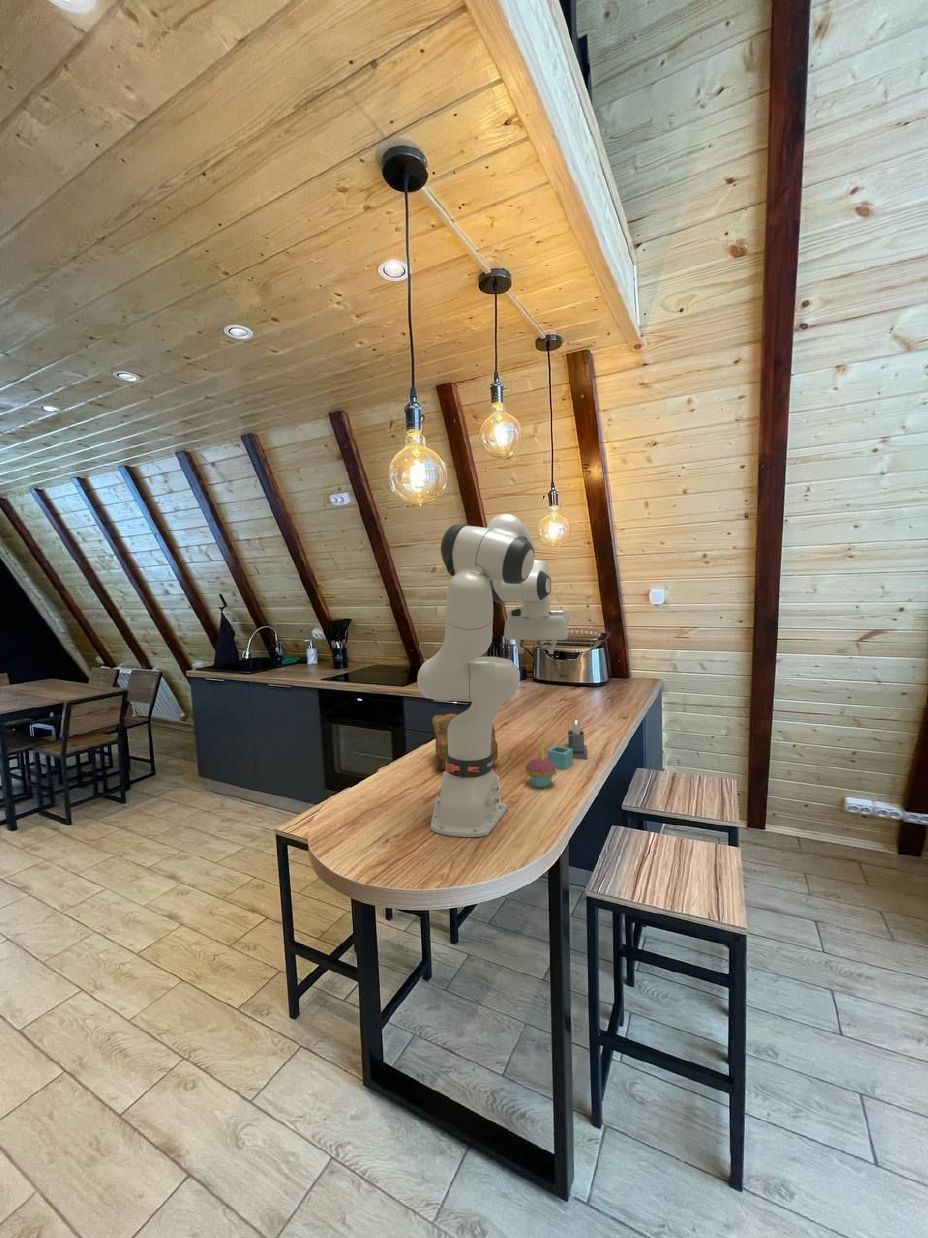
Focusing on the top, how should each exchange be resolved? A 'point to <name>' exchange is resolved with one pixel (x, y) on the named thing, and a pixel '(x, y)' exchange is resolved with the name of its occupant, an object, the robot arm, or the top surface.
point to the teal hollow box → (560, 757)
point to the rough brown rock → (442, 739)
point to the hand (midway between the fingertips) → (535, 653)
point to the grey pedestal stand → (577, 741)
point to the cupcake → (541, 771)
